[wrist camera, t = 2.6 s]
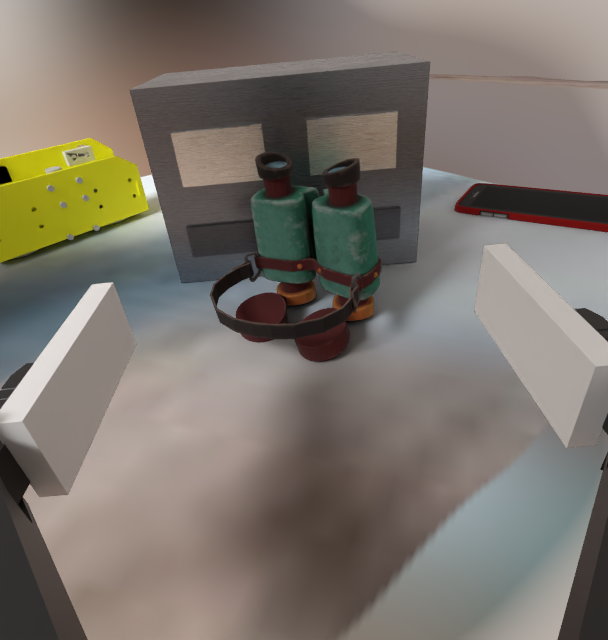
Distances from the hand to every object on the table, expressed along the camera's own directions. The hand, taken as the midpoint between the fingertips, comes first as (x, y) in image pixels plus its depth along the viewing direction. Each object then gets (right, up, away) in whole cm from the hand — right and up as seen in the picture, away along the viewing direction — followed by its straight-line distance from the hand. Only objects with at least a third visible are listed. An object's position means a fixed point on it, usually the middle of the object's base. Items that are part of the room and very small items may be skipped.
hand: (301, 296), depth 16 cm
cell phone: (+23, +9, +27) cm, 37 cm away
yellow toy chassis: (-24, +8, +31) cm, 40 cm away
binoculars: (0, -2, +13) cm, 13 cm away
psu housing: (-1, +6, +24) cm, 24 cm away
